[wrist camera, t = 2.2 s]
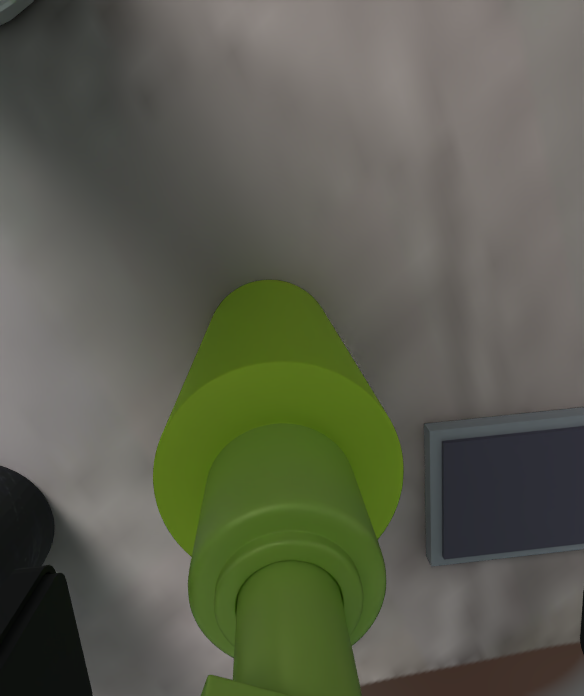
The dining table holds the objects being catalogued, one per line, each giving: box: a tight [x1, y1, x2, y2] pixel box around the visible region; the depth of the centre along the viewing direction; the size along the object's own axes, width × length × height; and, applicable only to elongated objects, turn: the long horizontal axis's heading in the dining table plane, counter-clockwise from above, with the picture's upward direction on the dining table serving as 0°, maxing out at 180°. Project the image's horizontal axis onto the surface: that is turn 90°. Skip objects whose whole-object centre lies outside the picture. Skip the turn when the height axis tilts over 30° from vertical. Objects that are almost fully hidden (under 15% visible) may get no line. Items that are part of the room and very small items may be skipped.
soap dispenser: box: [153, 280, 404, 696], centre depth 15 cm, size 6×7×20 cm
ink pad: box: [424, 407, 584, 567], centre depth 27 cm, size 8×10×1 cm
